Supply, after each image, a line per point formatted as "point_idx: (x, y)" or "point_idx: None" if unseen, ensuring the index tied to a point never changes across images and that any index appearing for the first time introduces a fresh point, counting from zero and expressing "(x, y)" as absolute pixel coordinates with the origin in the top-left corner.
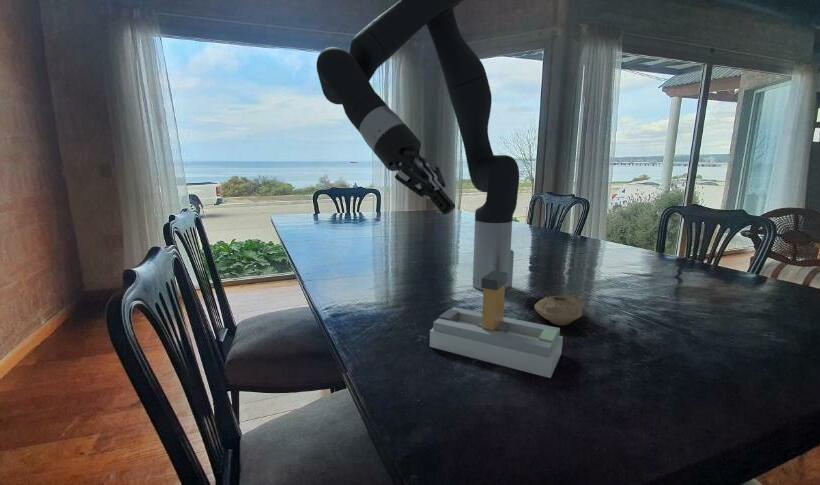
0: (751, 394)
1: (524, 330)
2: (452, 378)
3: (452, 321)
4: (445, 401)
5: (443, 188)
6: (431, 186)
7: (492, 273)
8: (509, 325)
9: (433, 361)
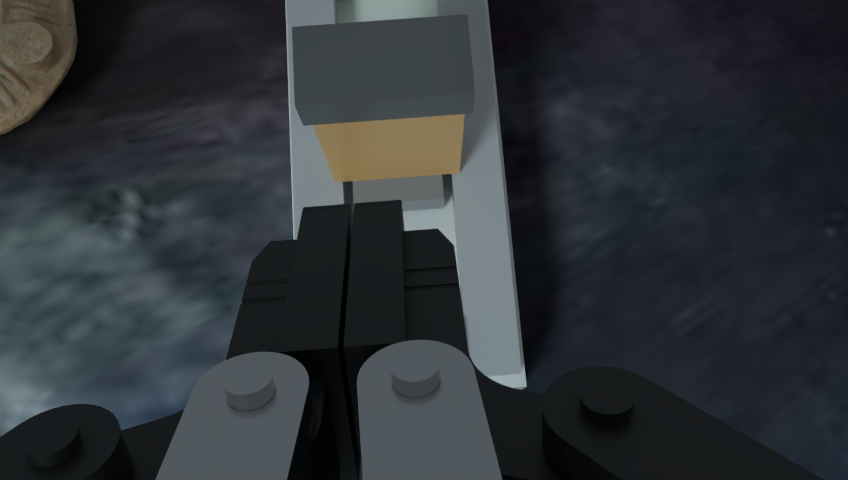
0: None
1: None
2: (663, 209)
3: (464, 305)
4: (782, 167)
5: (220, 364)
6: (579, 377)
7: (350, 85)
8: None
9: (608, 317)
